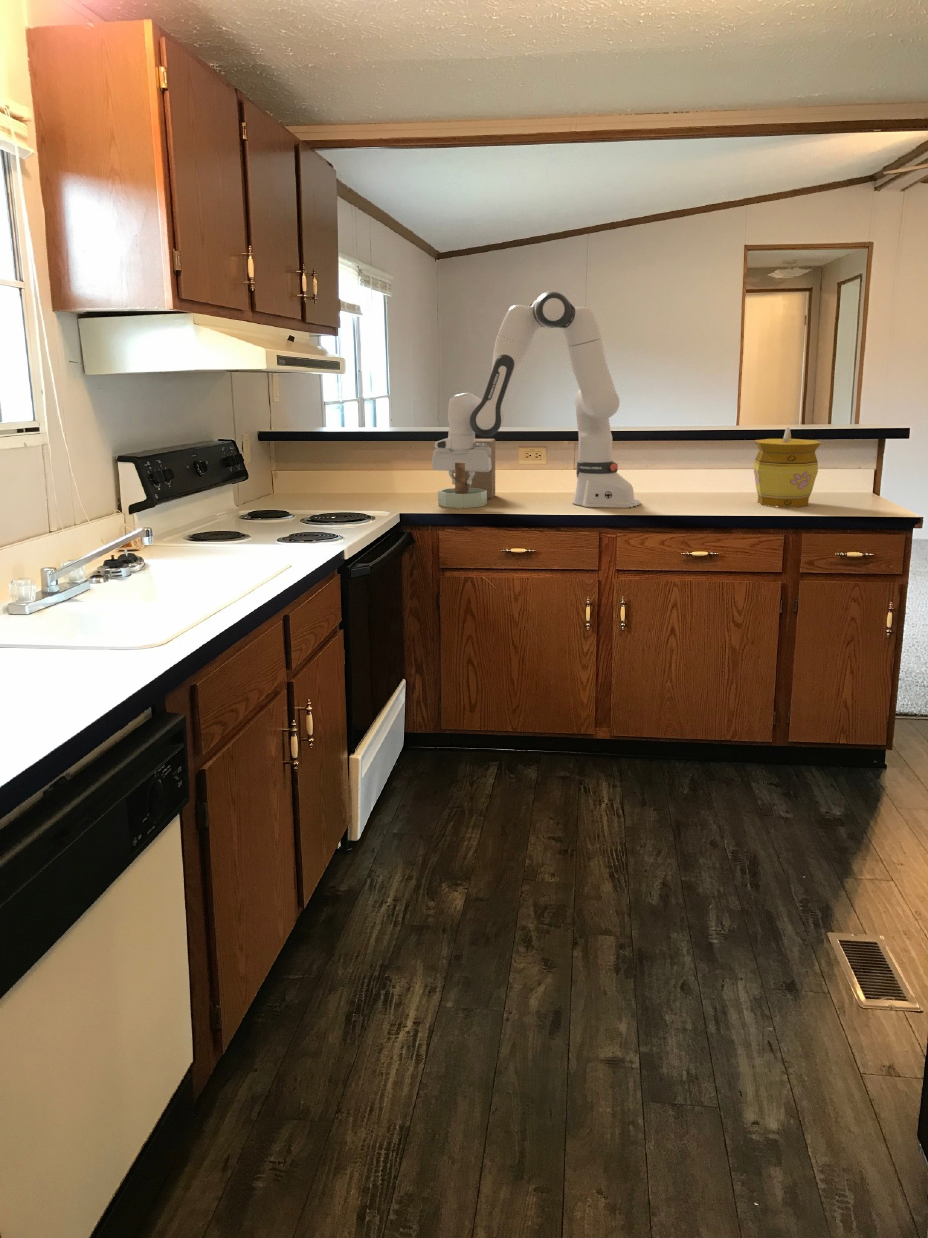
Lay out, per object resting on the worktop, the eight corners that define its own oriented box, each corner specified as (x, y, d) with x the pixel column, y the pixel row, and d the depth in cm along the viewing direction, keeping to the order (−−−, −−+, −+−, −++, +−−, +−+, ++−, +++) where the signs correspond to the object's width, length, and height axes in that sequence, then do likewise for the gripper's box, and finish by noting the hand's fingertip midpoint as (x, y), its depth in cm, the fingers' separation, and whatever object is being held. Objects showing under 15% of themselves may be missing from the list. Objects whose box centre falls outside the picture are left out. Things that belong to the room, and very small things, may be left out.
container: (743, 506, 324) (748, 428, 317) (756, 497, 342) (762, 424, 335) (810, 510, 314) (817, 430, 308) (820, 501, 332) (827, 425, 326)
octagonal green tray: (490, 501, 339) (490, 488, 337) (476, 508, 325) (476, 494, 324) (449, 500, 344) (449, 486, 342) (433, 506, 330) (433, 492, 329)
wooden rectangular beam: (468, 497, 335) (468, 461, 331) (464, 499, 331) (464, 463, 328) (458, 497, 336) (458, 461, 333) (455, 498, 332) (454, 462, 329)
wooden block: (491, 499, 345) (491, 441, 340) (463, 498, 347) (462, 441, 341) (495, 495, 355) (495, 438, 349) (467, 494, 356) (467, 438, 351)
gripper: (494, 442, 328) (494, 484, 332) (436, 441, 335) (437, 482, 339) (488, 444, 323) (488, 486, 326) (430, 442, 329) (430, 484, 333)
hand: (461, 484), depth 332 cm, fingers closed on wooden rectangular beam, 3 cm apart
